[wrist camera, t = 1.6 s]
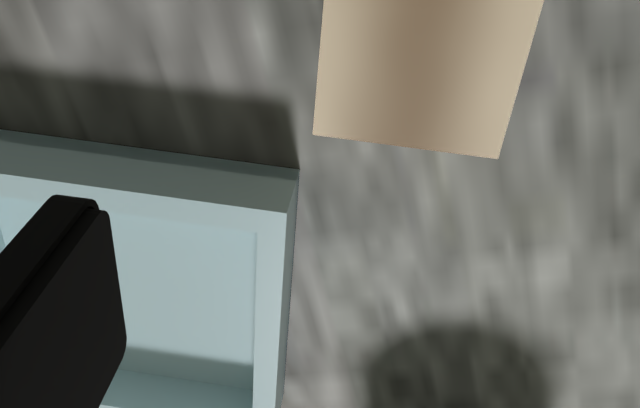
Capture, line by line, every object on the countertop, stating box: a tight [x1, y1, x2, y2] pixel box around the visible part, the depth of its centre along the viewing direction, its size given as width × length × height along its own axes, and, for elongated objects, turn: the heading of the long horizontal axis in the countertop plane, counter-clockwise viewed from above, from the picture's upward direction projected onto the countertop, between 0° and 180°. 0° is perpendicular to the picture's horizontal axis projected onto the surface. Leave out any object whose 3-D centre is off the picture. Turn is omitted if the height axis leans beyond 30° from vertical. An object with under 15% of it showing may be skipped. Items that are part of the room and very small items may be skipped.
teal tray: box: [0, 129, 300, 408], centre depth 31 cm, size 16×16×4 cm
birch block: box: [313, 0, 544, 159], centre depth 20 cm, size 6×6×6 cm
